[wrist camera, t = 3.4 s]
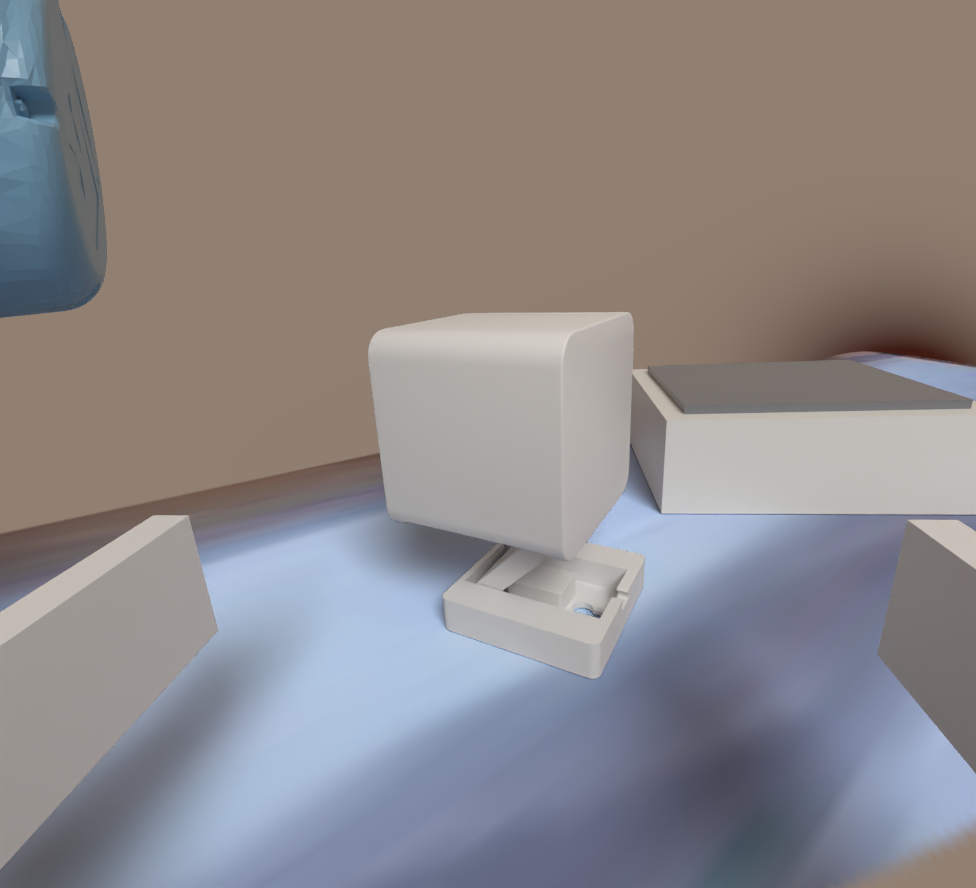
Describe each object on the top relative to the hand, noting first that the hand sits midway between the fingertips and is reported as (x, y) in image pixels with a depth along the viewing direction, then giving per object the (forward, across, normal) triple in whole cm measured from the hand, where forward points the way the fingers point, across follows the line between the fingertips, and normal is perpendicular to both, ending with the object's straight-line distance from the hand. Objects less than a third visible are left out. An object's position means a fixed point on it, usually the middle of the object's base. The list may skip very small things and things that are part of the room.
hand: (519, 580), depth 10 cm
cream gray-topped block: (+21, +13, -6) cm, 25 cm away
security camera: (+8, 0, -6) cm, 10 cm away
